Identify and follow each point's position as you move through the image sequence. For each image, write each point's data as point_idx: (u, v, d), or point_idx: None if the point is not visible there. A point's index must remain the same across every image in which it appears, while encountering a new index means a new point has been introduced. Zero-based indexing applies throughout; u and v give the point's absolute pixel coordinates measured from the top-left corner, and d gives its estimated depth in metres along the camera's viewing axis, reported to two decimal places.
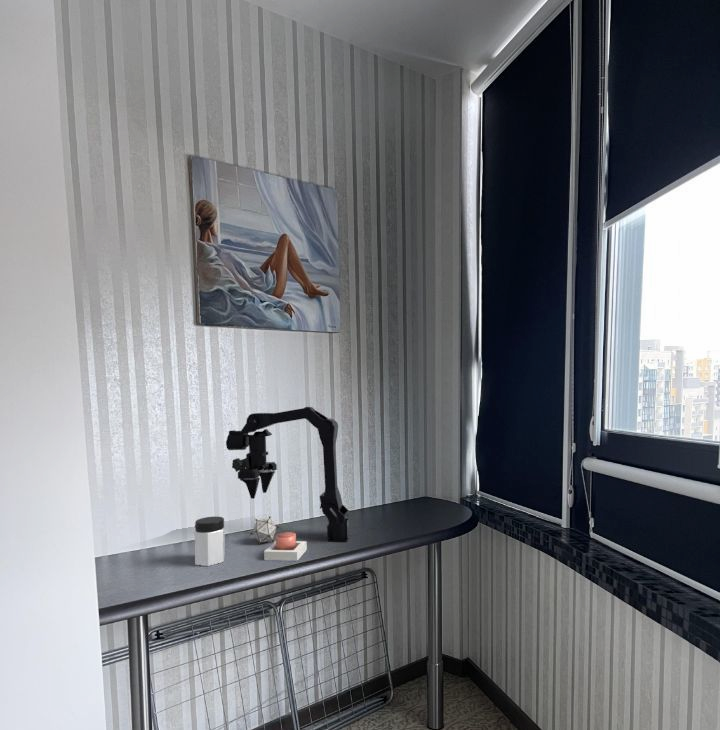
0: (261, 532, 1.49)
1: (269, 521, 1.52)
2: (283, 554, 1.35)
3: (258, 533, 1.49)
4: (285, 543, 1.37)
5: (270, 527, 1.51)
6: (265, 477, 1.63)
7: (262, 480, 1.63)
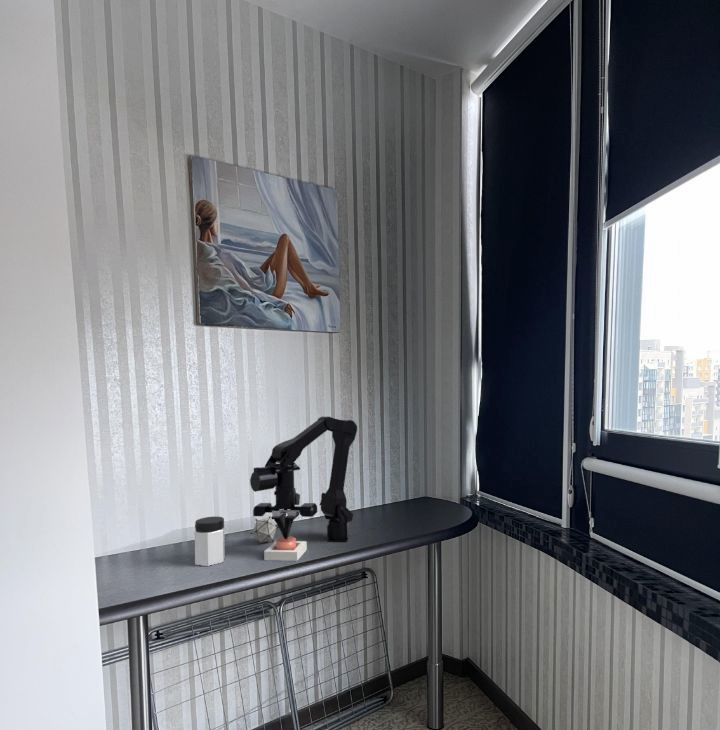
0: (261, 532, 1.49)
1: (269, 521, 1.52)
2: (283, 554, 1.35)
3: (258, 533, 1.49)
4: (285, 547, 1.37)
5: (270, 527, 1.51)
6: None
7: None
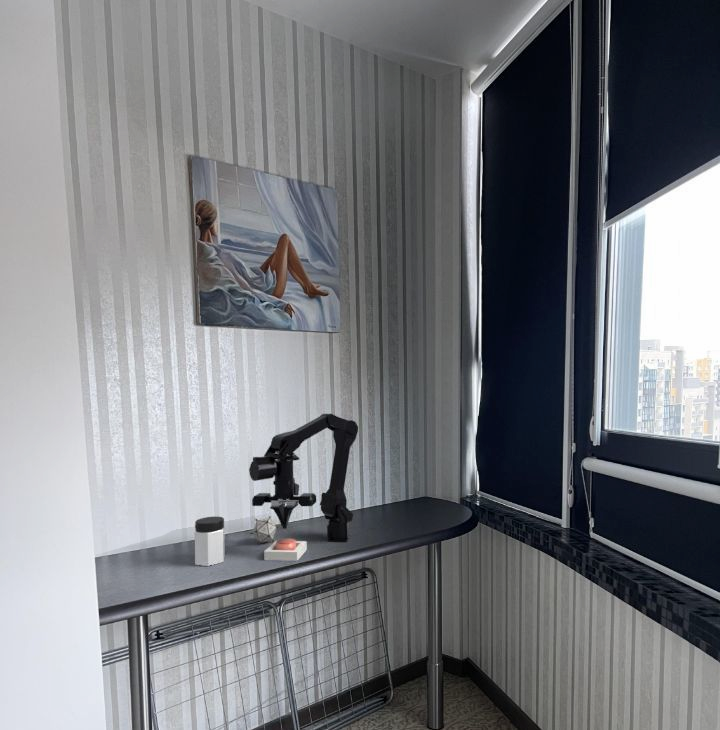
0: (261, 532, 1.49)
1: (269, 521, 1.52)
2: (283, 554, 1.35)
3: (258, 533, 1.49)
4: None
5: (270, 527, 1.51)
6: None
7: None
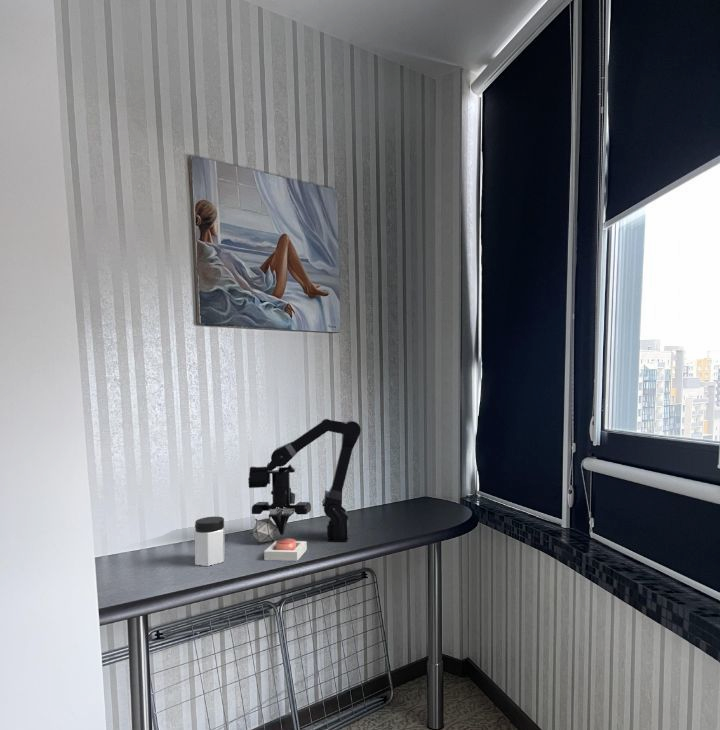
0: (261, 532, 1.49)
1: (269, 521, 1.52)
2: (283, 554, 1.35)
3: (258, 533, 1.49)
4: None
5: (270, 527, 1.51)
6: None
7: None
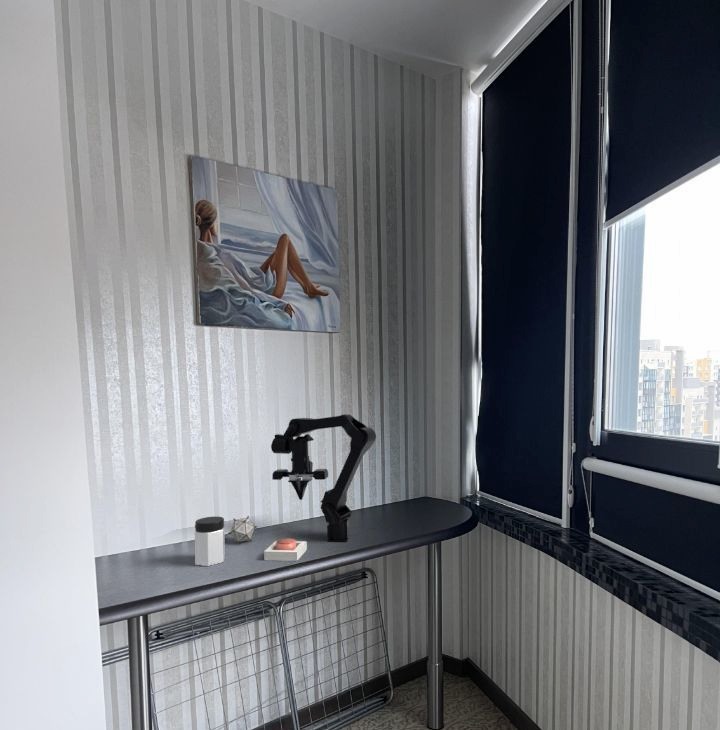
0: (238, 532, 1.50)
1: (247, 521, 1.54)
2: (283, 554, 1.35)
3: (235, 533, 1.50)
4: None
5: (248, 527, 1.52)
6: None
7: None
